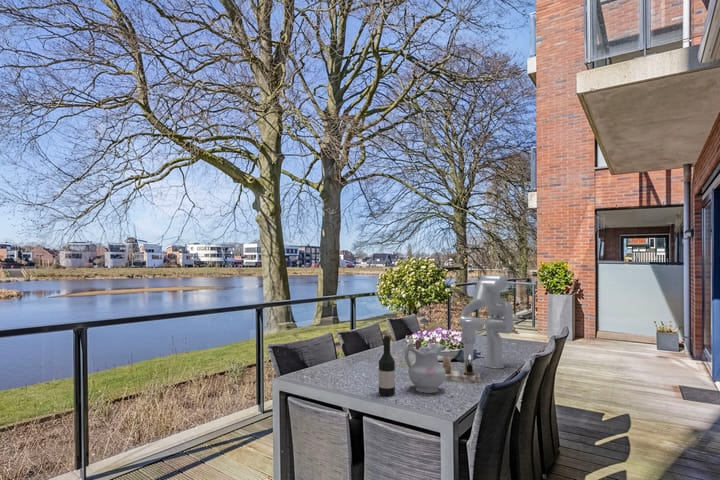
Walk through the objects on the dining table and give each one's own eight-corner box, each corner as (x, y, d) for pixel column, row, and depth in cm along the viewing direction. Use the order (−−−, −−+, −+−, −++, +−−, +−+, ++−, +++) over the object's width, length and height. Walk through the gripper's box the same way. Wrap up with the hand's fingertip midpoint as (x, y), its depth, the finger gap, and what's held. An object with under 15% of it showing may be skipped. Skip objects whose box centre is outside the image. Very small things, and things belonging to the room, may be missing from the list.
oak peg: (472, 378, 250) (472, 357, 250) (473, 380, 245) (473, 359, 246) (464, 377, 251) (464, 357, 251) (464, 380, 246) (464, 358, 247)
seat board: (478, 376, 253) (478, 356, 253) (480, 382, 241) (480, 361, 241) (437, 374, 257) (437, 354, 258) (437, 380, 245) (437, 359, 246)
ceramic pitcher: (415, 399, 214) (418, 350, 214) (397, 386, 232) (399, 340, 231) (451, 394, 223) (453, 347, 222) (431, 382, 241) (433, 338, 240)
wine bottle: (377, 392, 223) (377, 334, 225) (393, 391, 224) (393, 333, 225) (379, 397, 215) (379, 336, 216) (396, 396, 215) (396, 336, 217)
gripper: (461, 337, 258) (461, 366, 258) (462, 343, 241) (463, 374, 241) (474, 337, 257) (474, 366, 256) (476, 343, 240) (477, 374, 239)
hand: (469, 370), depth 248 cm, fingers open, 9 cm apart
